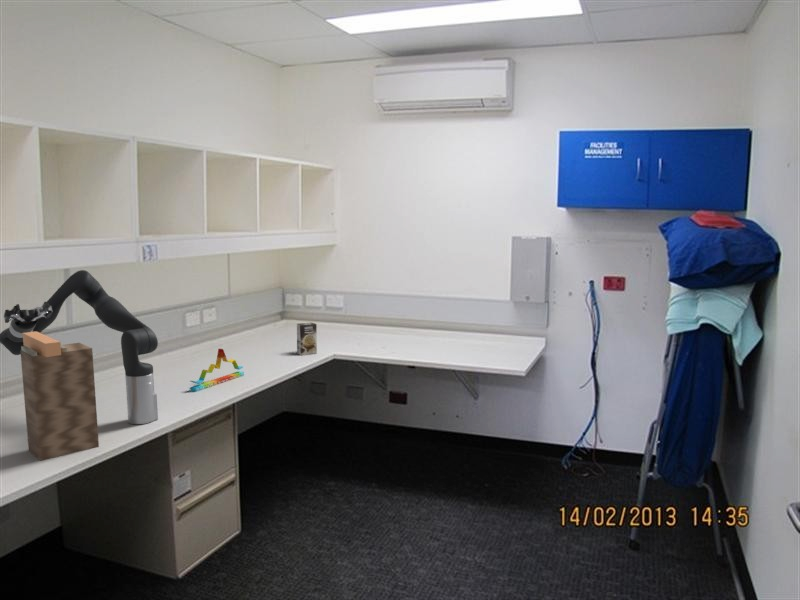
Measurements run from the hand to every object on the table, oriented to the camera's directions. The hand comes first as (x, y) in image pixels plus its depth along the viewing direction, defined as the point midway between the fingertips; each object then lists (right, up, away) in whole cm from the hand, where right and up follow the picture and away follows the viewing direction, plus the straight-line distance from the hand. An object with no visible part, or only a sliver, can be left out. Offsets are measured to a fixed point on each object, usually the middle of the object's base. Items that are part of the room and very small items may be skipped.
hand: (32, 305), depth 217 cm
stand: (+18, -45, -14) cm, 50 cm away
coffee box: (+75, -27, +123) cm, 146 cm away
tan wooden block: (+14, -14, -19) cm, 27 cm away
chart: (+45, -35, +65) cm, 86 cm away
